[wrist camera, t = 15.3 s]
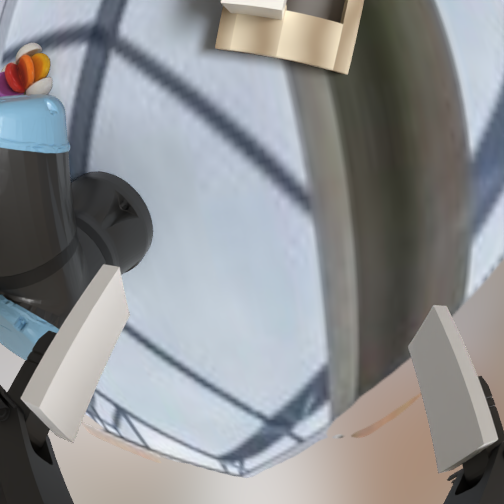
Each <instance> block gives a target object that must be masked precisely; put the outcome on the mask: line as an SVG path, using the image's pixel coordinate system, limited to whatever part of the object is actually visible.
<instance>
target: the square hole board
mask: <svg viewBox="0 0 504 504" xmlns="http://www.w3.org/2000/svg"><path fill="white" fill-rule="evenodd" d="M363 2H364V0H287V1H286V6H285V10H284V15H283V20H279V19H274V18H267V17H261V16H253V15H246V14H236V13H230V12H229V11H228V10H227V9H226V8H225V7H224V6H223V9H222V14H221V19H220V24H219V29H218V34H217V39H216V45H215V48H216V49H219V50H227V51H235V52H242V53H249V54H256V55H262V56H268V57H273V58H279V59H284V60H288V61H293V62H298V63H302V64H307V65H311V66H315V67H319V68H323V69H326V70H330V71H334V72H337V73H341V74H348V71H349V67H350V63H351V58H352V54H353V49H354V45H355V40H356V36H357V31H358V27H359V22H360V17H361V12H362V7H363Z"/></svg>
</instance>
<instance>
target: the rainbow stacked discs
mask: <svg viewBox="0 0 504 504" xmlns="http://www.w3.org/2000/svg"><path fill="white" fill-rule="evenodd" d="M41 52H42V48H41V46H40V45H38V44H36V43H29V44H26V45H25V46H23V47H22V48H21V49H20V50H19V51H18V53H17V55H16V62H11V63H9V64H7V65H6V66H5V67H4V68H3V69H2V71H1V73H0V97H3V96H13V95H29V94H44V95H47V94H48V93H49V91H50V90H51V88H52V83H53V82H52V78H51V77H47V78H46V76H47V74H48V72H49V69H50V59H49V58H48V56H47V55H45V54H43V53H41Z"/></svg>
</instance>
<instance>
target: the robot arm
mask: <svg viewBox="0 0 504 504" xmlns="http://www.w3.org/2000/svg"><path fill="white" fill-rule="evenodd" d="M69 150H70V143H69V142H68V141H67V130H66V116H65V109H64V106H63V104H62V103H61V101H60V100H59V99H57V98H56V97H54V96H51V95H44V94H29V95H13V96H3V97H0V343H1V344H2V345H4V346H5V347H6V348H8V349H9V350H10V351H12V352H13V353H15V354H16V355H18V356H19V357H21V358H23V359H24V360H26V361H25V362H24V364H23V366H22V367H21V369H20V371H19V373H18V374H17V376H16V378H15V380H14V382H13V383H12V385H11V387H10V389H9V391H8V392H6V391H5V390H4V389H3V388H2V386H1V385H0V504H74V503H73V501H72V498H71V496H70V494H69V491H68V489H67V487H66V484H65V482H64V479H63V476H62V474H61V471H60V468H59V466H58V463H57V460H56V458H55V454H54V451H53V448H52V445H51V442H50V439H49V437H48V432H49V430H51V431H52V432H53V433H54V434H55V435H56V436H58V437H61V438H63V439H65V440H67V441H70V442H72V443H74V440H75V438H76V435H77V432H78V430H79V427H80V425H81V422H82V420H83V417H84V415H85V412H86V410H87V408H88V405H89V403H90V400H91V398H92V396H93V393H94V391H95V389H96V386H97V384H98V382H99V379H100V377H101V375H102V373H103V370H104V368H105V366H106V364H107V362H108V359H109V357H110V355H111V353H112V351H113V349H114V347H115V344H116V342H117V340H118V338H119V336H120V334H121V332H122V330H123V328H124V326H125V324H126V322H127V320H128V318H129V316H130V314H129V309H128V305H127V301H126V296H125V292H124V287H123V282H122V277H121V275H122V274H123V273H125V272H128V271H129V270H131V269H133V268H134V267H136V266H137V265H138V264H139V263H140V261H141V260H142V259H143V257H144V256H145V254H146V253H147V251H148V249H149V247H150V245H151V242H152V236H153V227H152V220H151V216H150V213H149V211H148V209H147V206H146V205H145V203H144V201H143V199H142V198H141V197H140V195H139V194H138V193H137V192H136V191H135V189H134V188H133V187H131V186H130V185H129V184H128V183H127V182H125V181H124V180H122V179H121V178H119V177H117V176H114V175H112V174H109V173H104V172H91V173H87V174H84V175H82V176H80V177H79V178H77V179H76V180H74V181H73V182H72V183H71V181H70V170H69V156H68V151H69ZM408 348H409V352H410V355H411V358H412V361H413V365H414V368H415V372H416V375H417V379H418V382H419V386H420V390H421V394H422V397H423V402H424V406H425V410H426V414H427V418H428V423H429V427H430V432H431V436H432V441H433V446H434V451H435V457H436V462H437V468H438V473H442V472H446V471H450V470H453V469H454V468H456V467H458V466H460V465H461V464H463V469H461V470H459V471H458V472H456V473H454V474H453V475H451V476H450V477H449V478H448V481H450V480H452V479H454V478H455V477H456V479H455V480H453V481H452V483H453V486H452V488H451V490H450V492H449V494H448V496H447V498H446V500H445V502H444V504H504V431H503V427H502V424H501V421H500V418H499V414H498V411H497V408H496V407H495V403H494V400H493V398H492V394H491V392H490V389H489V386H488V384H487V383H486V382H485V380H484V379H483V378H482V376H477V374H476V371H475V369H474V366H473V363H472V361H471V359H470V356H469V354H468V351H467V349H466V347H465V345H464V342H463V340H462V338H461V336H460V333H459V331H458V329H457V327H456V325H455V323H454V320H453V318H452V316H451V314H450V312H449V310H448V308H447V306H438V305H433V307H432V309H431V310H430V312H429V314H428V315H427V317H426V319H425V320H424V322H423V324H422V325H421V327H420V329H419V330H418V332H417V333H416V335H415V337H414V338H413V340H412V341H411V343H410V344H409V346H408Z"/></svg>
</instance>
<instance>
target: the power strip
mask: <svg viewBox="0 0 504 504" xmlns="http://www.w3.org/2000/svg"><path fill="white" fill-rule="evenodd" d="M286 1H287V0H221V4H222V5H223V6H224V7H225V8H226V9H227V10H228V11H229V12H230V13H236V14H246V15H253V16H261V17H267V18H274V19H279V20H283V15H284V10H285V6H286Z"/></svg>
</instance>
